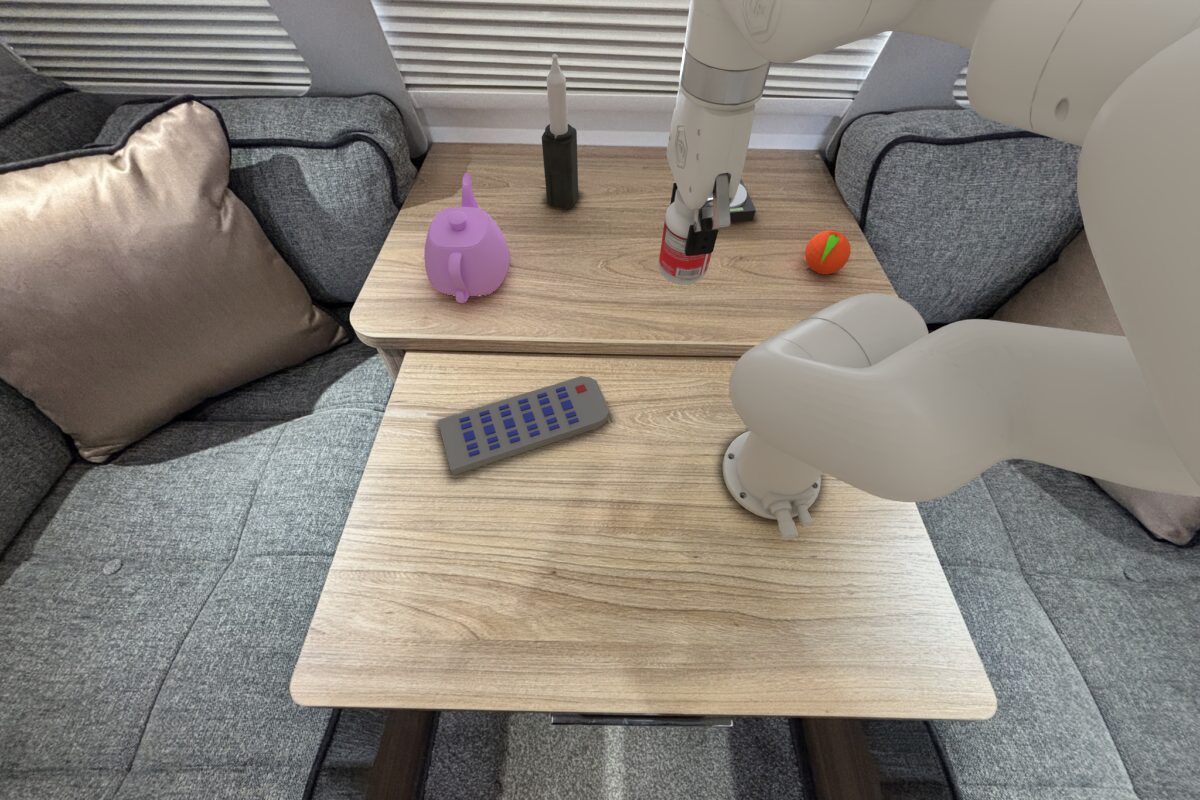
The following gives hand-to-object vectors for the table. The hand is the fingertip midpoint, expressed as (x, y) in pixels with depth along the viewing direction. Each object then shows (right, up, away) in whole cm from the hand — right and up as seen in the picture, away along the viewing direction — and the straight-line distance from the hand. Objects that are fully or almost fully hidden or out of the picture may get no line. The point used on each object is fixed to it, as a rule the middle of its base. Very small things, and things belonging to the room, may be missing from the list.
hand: (690, 230), depth 62 cm
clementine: (+27, +2, +29) cm, 39 cm away
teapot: (-32, +2, +28) cm, 42 cm away
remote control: (-21, -23, +12) cm, 34 cm away
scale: (+12, +16, +37) cm, 42 cm away
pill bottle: (0, -3, +5) cm, 6 cm away
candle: (-17, +18, +38) cm, 45 cm away
